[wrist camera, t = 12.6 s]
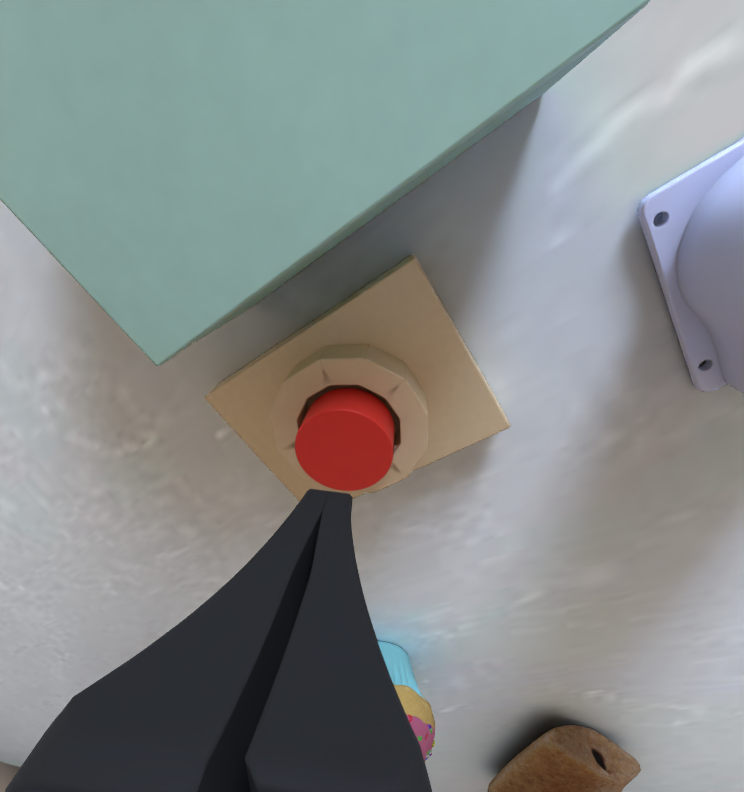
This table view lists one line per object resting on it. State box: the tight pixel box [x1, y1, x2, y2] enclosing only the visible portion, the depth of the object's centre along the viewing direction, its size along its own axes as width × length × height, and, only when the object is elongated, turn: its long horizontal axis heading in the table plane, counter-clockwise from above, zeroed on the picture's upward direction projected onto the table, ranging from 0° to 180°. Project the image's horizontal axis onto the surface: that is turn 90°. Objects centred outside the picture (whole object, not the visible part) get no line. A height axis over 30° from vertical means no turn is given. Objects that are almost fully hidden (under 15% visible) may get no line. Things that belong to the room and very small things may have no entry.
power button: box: [295, 388, 395, 491], centre depth 16 cm, size 4×4×2 cm
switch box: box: [205, 254, 510, 502], centre depth 18 cm, size 9×12×4 cm
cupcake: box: [378, 641, 435, 762], centre depth 25 cm, size 9×8×12 cm
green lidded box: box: [196, 26, 622, 341], centre depth 11 cm, size 14×12×5 cm
